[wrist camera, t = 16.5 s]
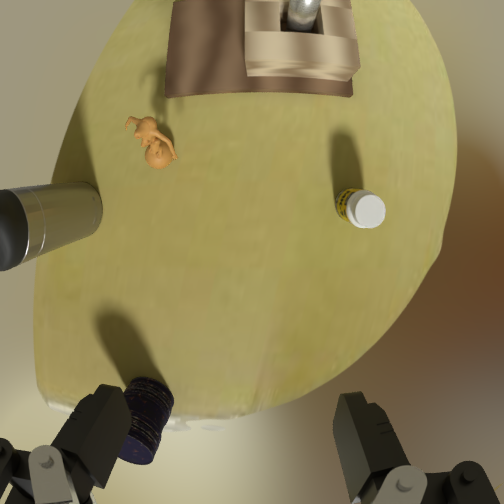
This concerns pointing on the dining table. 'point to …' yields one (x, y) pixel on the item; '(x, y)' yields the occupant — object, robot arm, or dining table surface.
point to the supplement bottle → (360, 207)
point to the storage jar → (145, 419)
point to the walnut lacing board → (224, 55)
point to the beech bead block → (301, 42)
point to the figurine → (153, 142)
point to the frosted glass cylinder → (302, 15)
